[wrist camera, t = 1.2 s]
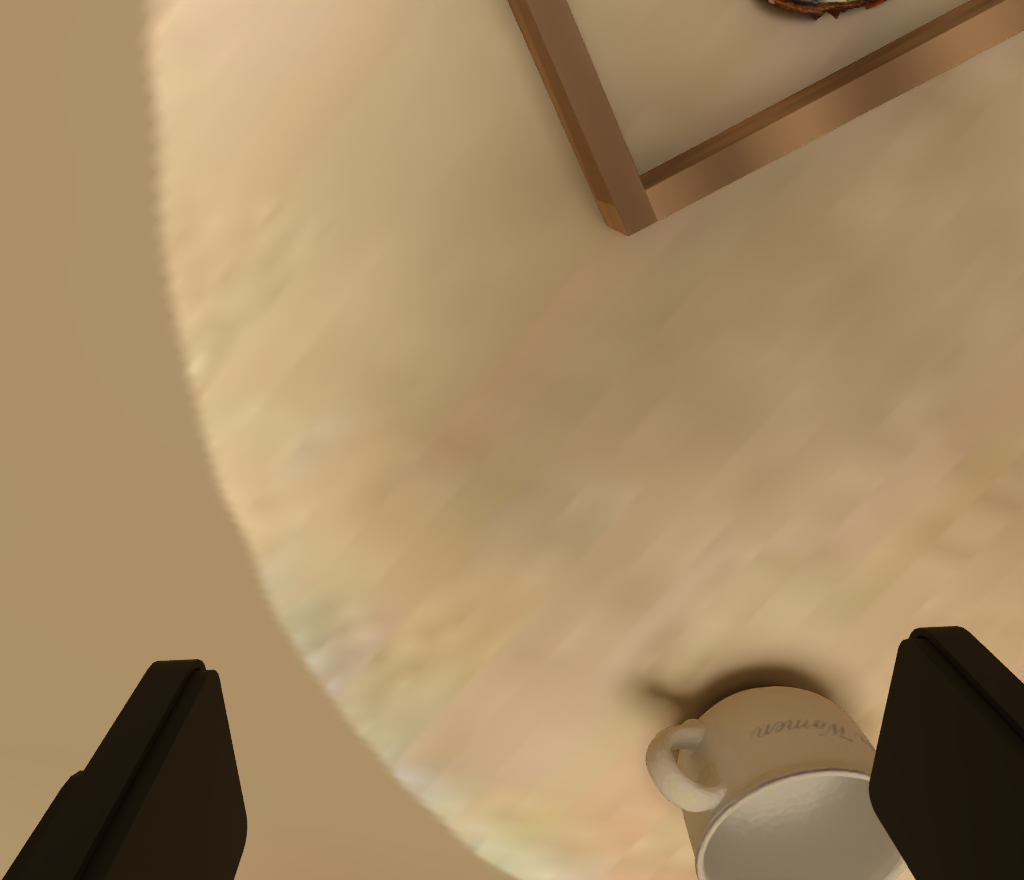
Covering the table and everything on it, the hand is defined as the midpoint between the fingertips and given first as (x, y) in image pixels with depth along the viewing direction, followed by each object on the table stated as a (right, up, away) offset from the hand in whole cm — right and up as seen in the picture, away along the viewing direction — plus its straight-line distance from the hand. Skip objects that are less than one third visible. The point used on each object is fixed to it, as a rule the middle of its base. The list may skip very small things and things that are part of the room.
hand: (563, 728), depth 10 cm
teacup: (+12, -12, +32) cm, 36 cm away
